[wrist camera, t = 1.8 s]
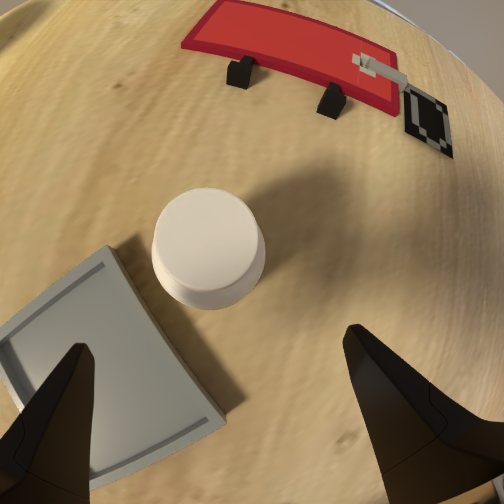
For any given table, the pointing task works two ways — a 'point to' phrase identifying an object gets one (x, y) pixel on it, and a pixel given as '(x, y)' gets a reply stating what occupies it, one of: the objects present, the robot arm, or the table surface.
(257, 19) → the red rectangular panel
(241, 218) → the supplement bottle
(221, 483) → the table surface
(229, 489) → the table surface
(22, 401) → the tray
